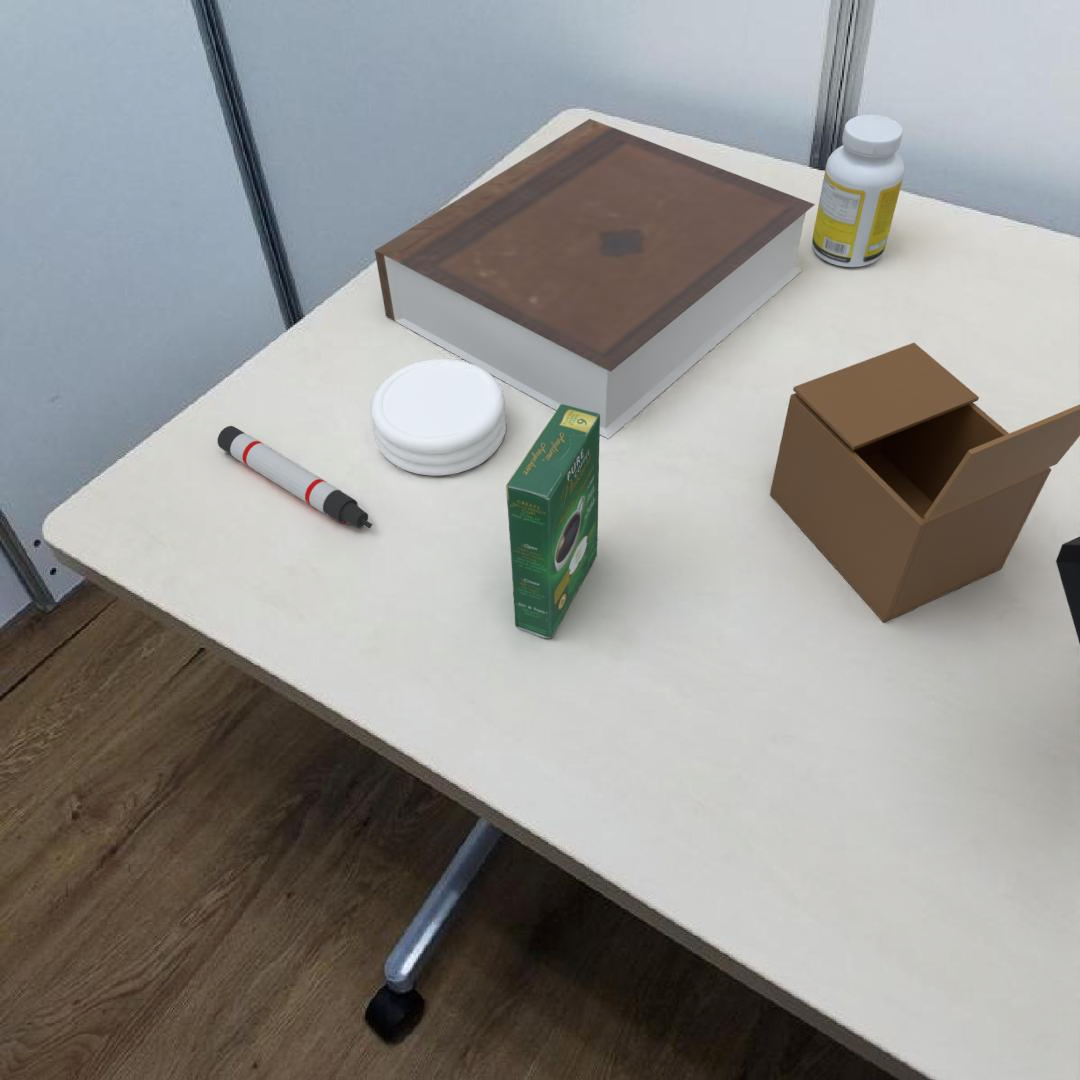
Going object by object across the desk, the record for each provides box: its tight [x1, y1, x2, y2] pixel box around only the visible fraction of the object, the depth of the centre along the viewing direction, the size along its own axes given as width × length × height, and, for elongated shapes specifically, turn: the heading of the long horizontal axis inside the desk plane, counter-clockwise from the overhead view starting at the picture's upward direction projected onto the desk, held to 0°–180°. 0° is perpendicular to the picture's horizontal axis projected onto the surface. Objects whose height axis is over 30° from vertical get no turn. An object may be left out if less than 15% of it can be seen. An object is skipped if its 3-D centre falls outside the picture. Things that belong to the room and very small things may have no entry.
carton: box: [769, 342, 1052, 623], centre depth 66 cm, size 13×10×10 cm
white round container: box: [369, 358, 507, 476], centre depth 76 cm, size 10×10×4 cm
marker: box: [217, 425, 373, 529], centre depth 73 cm, size 15×2×2 cm, turn 52°
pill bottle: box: [811, 114, 906, 268], centre depth 88 cm, size 6×6×12 cm
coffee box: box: [505, 404, 601, 639], centre depth 63 cm, size 8×3×13 cm, turn 155°
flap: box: [924, 404, 1080, 520], centre depth 56 cm, size 6×10×1 cm
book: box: [374, 118, 816, 440], centre depth 87 cm, size 24×28×6 cm
